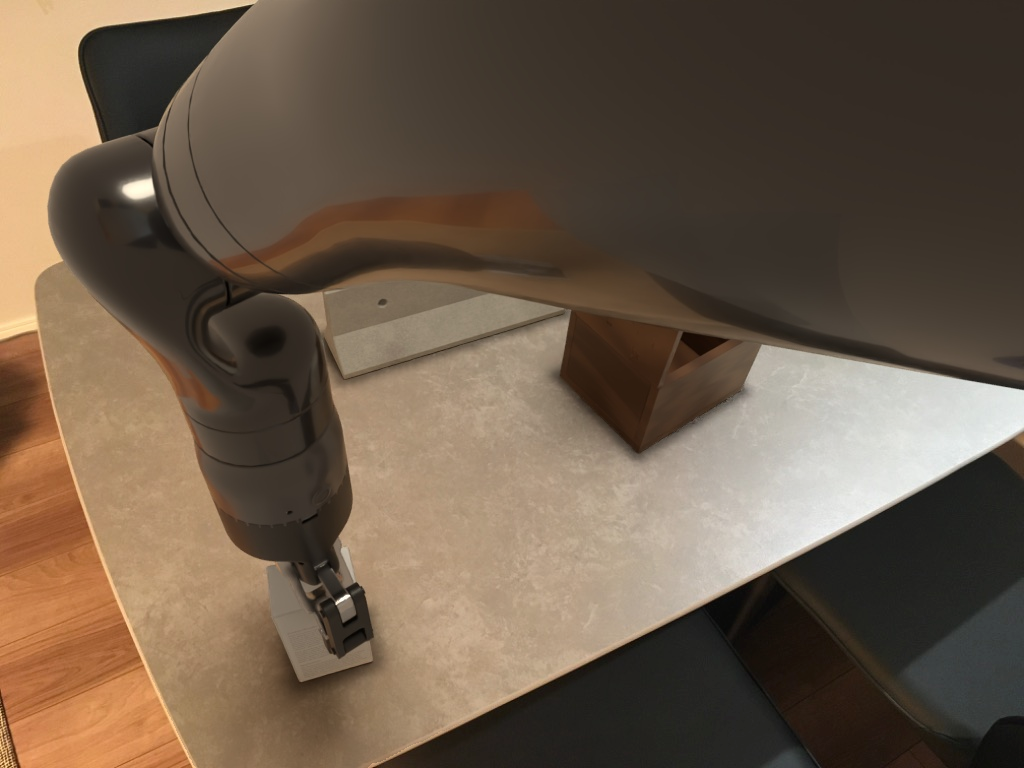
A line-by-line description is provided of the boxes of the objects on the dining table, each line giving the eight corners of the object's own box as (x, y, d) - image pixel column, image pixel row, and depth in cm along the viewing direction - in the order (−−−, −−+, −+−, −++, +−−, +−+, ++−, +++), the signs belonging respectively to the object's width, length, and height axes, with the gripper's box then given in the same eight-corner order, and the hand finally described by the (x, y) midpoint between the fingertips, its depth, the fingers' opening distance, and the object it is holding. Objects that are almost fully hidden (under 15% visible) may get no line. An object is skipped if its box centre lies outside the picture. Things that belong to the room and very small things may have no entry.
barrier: (344, 379, 80) (334, 312, 72) (324, 337, 84) (312, 268, 76) (564, 313, 89) (575, 247, 82) (537, 278, 93) (545, 212, 86)
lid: (608, 155, 63) (562, 169, 60) (720, 234, 56) (673, 254, 54) (574, 305, 75) (535, 321, 72) (663, 385, 68) (623, 406, 66)
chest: (661, 323, 89) (680, 258, 82) (741, 390, 83) (770, 326, 75) (559, 375, 82) (570, 309, 75) (638, 453, 76) (659, 390, 68)
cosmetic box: (363, 614, 62) (350, 543, 53) (373, 662, 60) (361, 595, 51) (290, 634, 61) (264, 564, 52) (297, 684, 58) (271, 620, 49)
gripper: (163, 408, 43) (223, 548, 55) (268, 598, 35) (311, 711, 47) (284, 358, 46) (316, 500, 58) (403, 523, 39) (411, 646, 51)
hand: (314, 595), depth 53 cm, fingers open, 8 cm apart
